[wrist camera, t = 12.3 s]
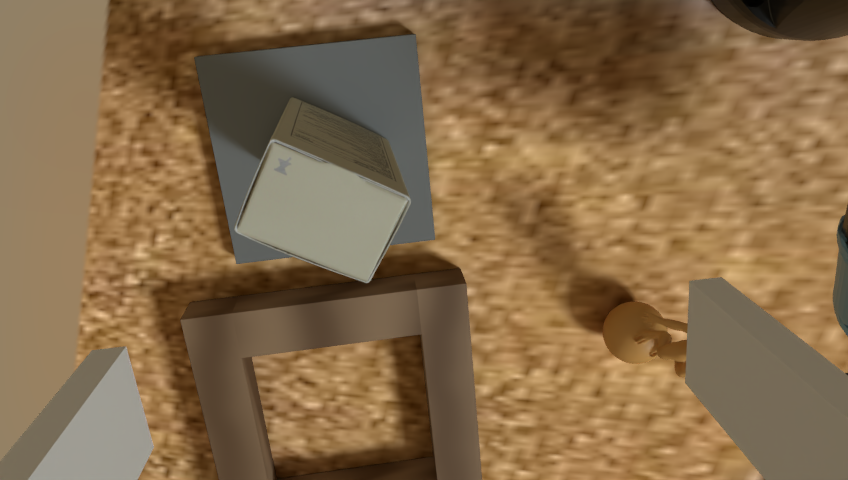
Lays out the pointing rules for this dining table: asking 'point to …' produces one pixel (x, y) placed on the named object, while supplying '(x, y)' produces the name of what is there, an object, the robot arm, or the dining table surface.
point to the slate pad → (326, 89)
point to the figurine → (643, 335)
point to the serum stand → (330, 326)
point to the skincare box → (325, 193)
